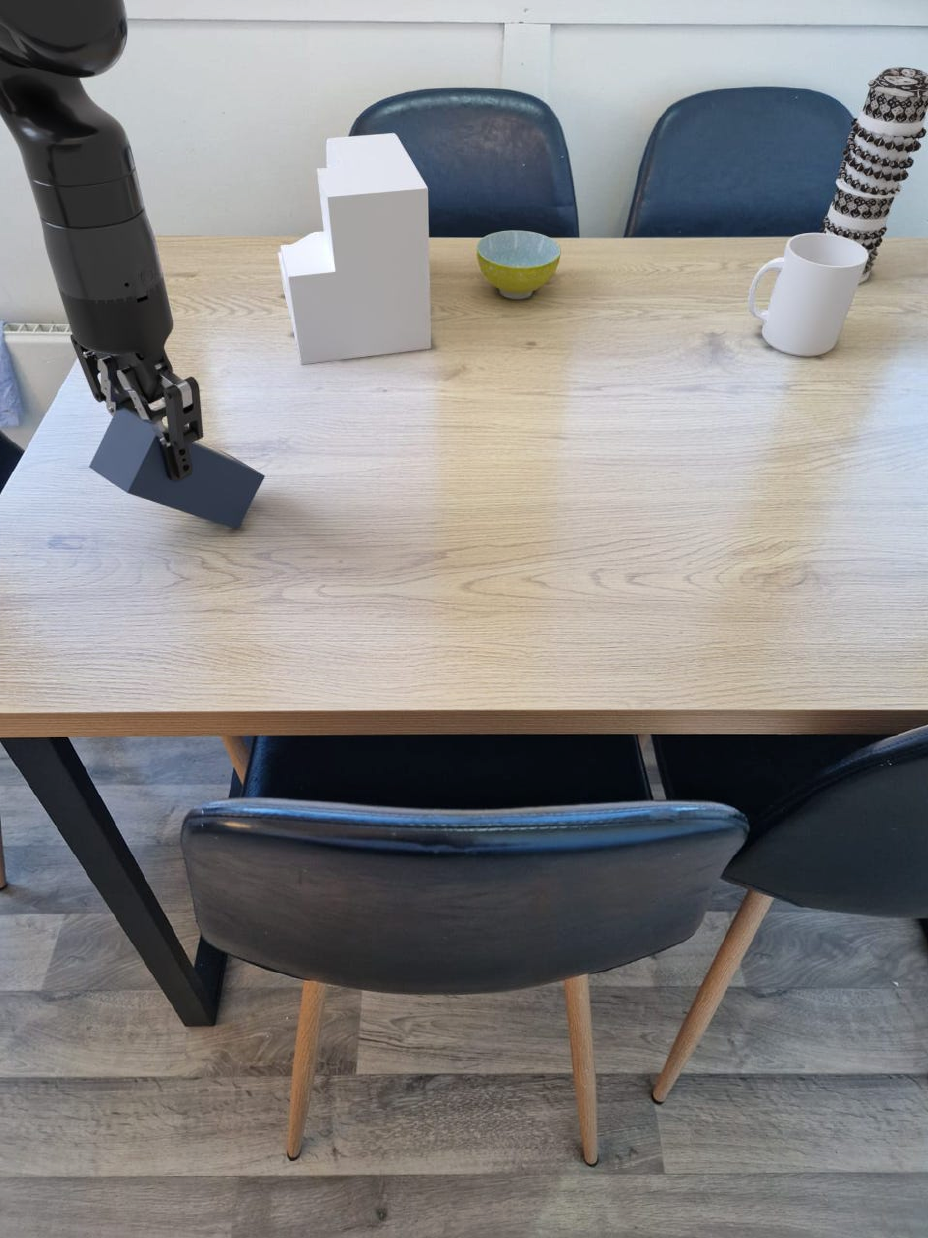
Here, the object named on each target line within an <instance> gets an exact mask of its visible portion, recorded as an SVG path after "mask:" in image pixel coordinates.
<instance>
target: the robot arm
mask: <svg viewBox="0 0 928 1238" xmlns="http://www.w3.org/2000/svg"><path fill="white" fill-rule="evenodd" d="M126 8H127V7H126V5H125V1H124V0H0V118H1V119H2V121H3V122H4V124H5V126H6V127H7V129H8V131H9V133H10V134H11V136H12V138H13V140H14V142H15V143H16V145H17V147H18V149H19V152H20V156H21V159H22V163H23V166H24V167H23V168H24V170H25V173H26V176H27V180H28V182H29V186H30V189H31V192H32V196H33V199H34V202H35V206H36V208H37V212H38V215H39V219H40V224H41V229H42V234H43V235H42V236H43V241H44V247H45V251H46V254H47V257H48V260H49V264H50V267H51V270H52V273H53V276H54V281H55V282H56V286H57V289H58V293H59V296H60V299H61V302H62V306H63V309H64V311H65V315H66V318H67V322H68V324H69V327H70V331H71V335H70V336H69V338H70V341H71V344H72V346H73V349H74V351H75V354H76V356H77V359H78V361H79V364H80V366H81V369H82V371H83V374H84V376H85V379H86V382H87V384H88V386H89V389H90V391H91V394H92V397H93V398H94V400H95V401H97V403H102V402H105V403H106V404H105V407H106V409H107V411H108V414H109V415H110V416H111V417H113V416H114V414H115V412H116V410H117V409H118V407H119V406H120V405H121V406H123V407H126V408H128V409H130V410H132V411H134V412H137V413H139V415H140V417H141V419H142V420H143V421H144V422H148V423H150V424H151V426H152V428H153V430H154V432H155V434H156V436H157V439H158V441H159V443H160V445H159V446H160V450H161V454H162V457H163V461H164V465H165V469H166V473H167V477H168V478H169V479H170V480H172V481H174V482H179V481H180V480H182V479H184V478H186V477H188V476H190V475H191V474H192V473H193V465H192V460H191V456H190V452H189V447H188V445H189V444H191V443H193V442H195V441H197V440H198V441H200V440H202V439H203V438H204V426H203V415H202V402H201V391H200V389H201V388H200V384H199V382H198V381H197V379H196V378H195V377H193V376H189V377H186V378H184V379H182V378H181V377H180V376H178V375H177V374H176V373H174V368H173V365H172V363H171V361H170V358H169V356H168V354H167V352H166V350H165V346H166V342H167V340H168V339H169V337H170V336H171V334H172V332H173V329H174V319H173V318H174V317H173V314H172V310H171V305H170V300H169V295H168V291H167V286H166V281H165V277H164V272H163V268H162V262H161V258H160V254H159V249H158V245H157V241H156V238H155V234H154V231H153V228H152V225H151V223H150V220H149V218H148V214H147V211H146V208H145V203H144V199H143V193H142V188H141V185H140V180H139V175H138V171H137V167H136V162H135V158H134V155H133V154H134V153H133V150H132V147H131V143H130V139H129V137H128V135H127V132H126V130H125V128H124V127H123V125H122V124H121V123H120V122H119V120H118V119H116V118H115V117H114V116H113V115H111V114H110V113H109V112H107V111H106V110H104V109H103V108H102V107H101V106H99V105H98V104H97V103H96V102H94V100H93V99H92V98H91V97H90V96H89V95H88V93H87V91H86V89H85V87H84V85H83V83H82V80H81V79H88V78H94V77H98V76H100V75H102V74H105V73H107V72H108V71H109V70H111V69H112V68H113V67H115V65H116V64H117V63H118V62H119V60H120V59H121V58H122V56H123V53H124V51H125V49H126V45H127V40H128V34H129V33H128V32H129V23H128V21H129V20H128V14H127V13H128V12H127V9H126ZM99 374H100V379H99ZM160 400H161V401H162V403H163V404H161V405H159V406H157V407H154V408H151V407H150V405H151V404H153V403H156V402H158V401H160ZM165 417H166V420H167V421H166V422H167V427H168V430H167V431H166V429H165V427H164V425H165V424H164V423H163V419H164V418H165Z"/></svg>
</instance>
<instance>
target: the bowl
mask: <svg viewBox="0 0 928 1238" xmlns="http://www.w3.org/2000/svg"><path fill="white" fill-rule="evenodd" d="M561 254H562V249H561V246H560V245H559V243H558V242H557V241H555V239H553V238H551V237H550V236H547V235H545V234H542V233H538V232H534V231H527V230H502V231H498V232H497V231H496V232H492V233H490V234H488V235H485V236H484V237H482V238H481V239H480V240H478V242H477V244H476V258H477V262H478V265H479V268H480V270H481V273H482V274H483V276H484V278H485V279H486V280H487V282H489V284H491V285H492V286H493V287H495V288H497V289H499V294H500V295H501V296H503V297H504V298H507V299H511V300H523V299H527V298H529V297H531V295H532V294H533V291H535V290H538V289H539V288H542V286H544V285H546V283H547V282H549V280H550V279H551V278H552V277H553V275H554V273H555V272H556V270H557V268H558V265H559V263H560V260H561Z"/></svg>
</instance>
